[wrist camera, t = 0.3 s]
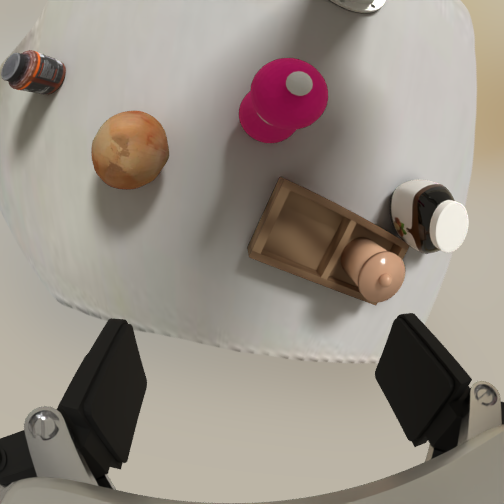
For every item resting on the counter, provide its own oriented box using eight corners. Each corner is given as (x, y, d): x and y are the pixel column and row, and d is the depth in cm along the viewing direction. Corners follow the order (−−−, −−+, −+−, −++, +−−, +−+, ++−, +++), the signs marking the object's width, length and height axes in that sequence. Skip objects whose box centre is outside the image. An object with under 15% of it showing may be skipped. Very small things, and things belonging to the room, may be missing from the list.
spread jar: (382, 184, 37) (429, 197, 26) (433, 168, 37) (482, 178, 26) (393, 254, 42) (434, 284, 31) (441, 233, 41) (484, 256, 30)
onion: (112, 118, 31) (77, 110, 22) (179, 114, 32) (160, 101, 23) (109, 184, 35) (74, 195, 25) (174, 184, 36) (154, 196, 26)
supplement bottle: (65, 55, 26) (25, 37, 16) (69, 83, 28) (26, 69, 18) (38, 74, 26) (-4, 63, 16) (42, 101, 28) (-3, 95, 18)
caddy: (279, 176, 36) (284, 178, 33) (398, 237, 41) (410, 244, 37) (247, 247, 39) (248, 257, 36) (366, 294, 44) (375, 305, 40)
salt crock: (352, 227, 38) (383, 248, 29) (386, 245, 39) (418, 268, 31) (331, 269, 40) (354, 299, 32) (365, 283, 42) (392, 313, 33)
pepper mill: (268, 155, 35) (309, 156, 16) (226, 121, 33) (220, 84, 14) (303, 117, 34) (373, 85, 15) (262, 83, 32) (292, 16, 13)
